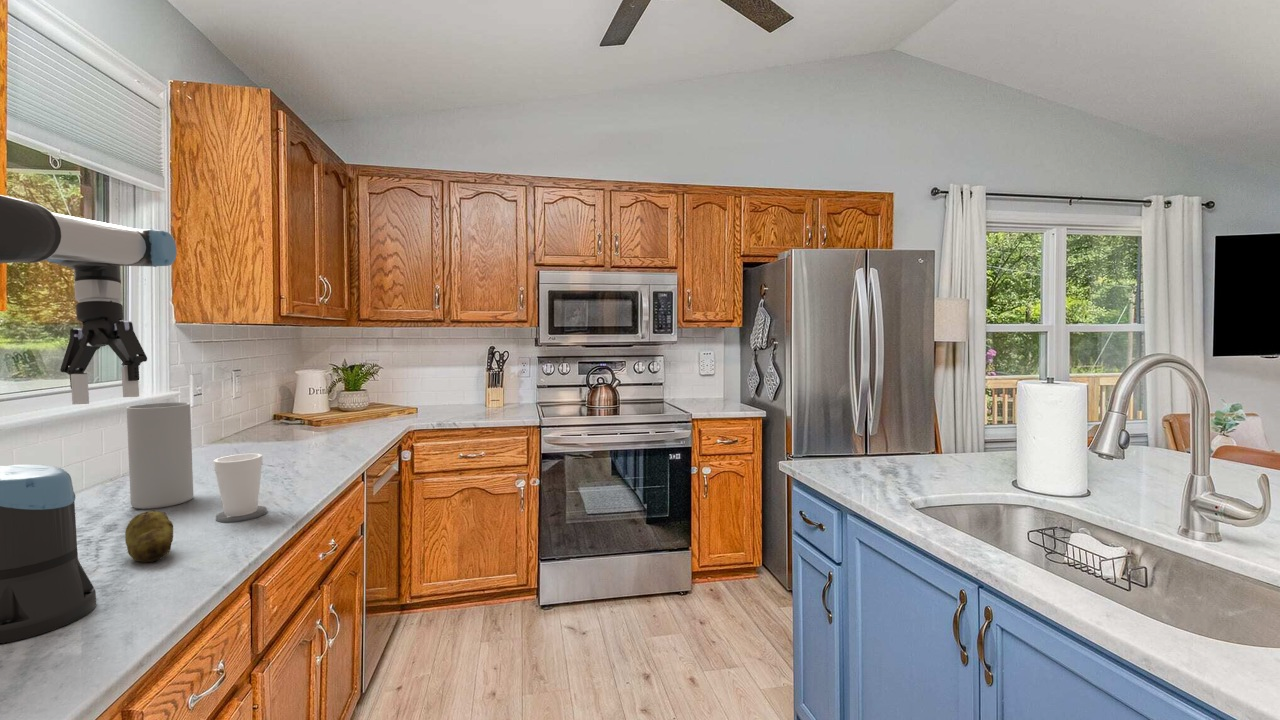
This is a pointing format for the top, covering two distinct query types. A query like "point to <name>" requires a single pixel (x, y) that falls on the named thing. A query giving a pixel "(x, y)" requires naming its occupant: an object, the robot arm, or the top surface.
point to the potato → (149, 536)
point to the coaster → (223, 518)
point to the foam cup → (239, 482)
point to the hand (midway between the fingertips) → (105, 400)
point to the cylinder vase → (159, 454)
